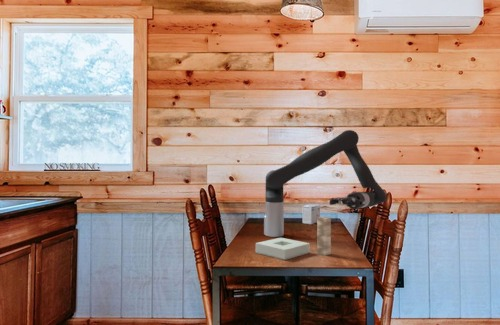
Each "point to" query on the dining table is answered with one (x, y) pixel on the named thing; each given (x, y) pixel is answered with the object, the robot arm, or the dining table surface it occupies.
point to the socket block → (282, 248)
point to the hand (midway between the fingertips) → (338, 203)
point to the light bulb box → (310, 213)
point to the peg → (324, 236)
